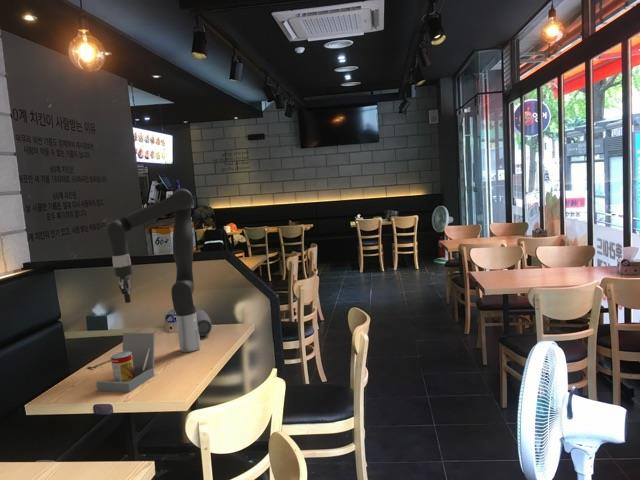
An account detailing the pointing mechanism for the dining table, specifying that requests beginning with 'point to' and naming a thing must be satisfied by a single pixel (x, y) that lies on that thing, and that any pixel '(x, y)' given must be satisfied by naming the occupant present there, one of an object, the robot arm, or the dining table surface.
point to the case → (135, 362)
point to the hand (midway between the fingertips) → (128, 302)
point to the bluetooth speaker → (203, 322)
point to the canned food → (123, 366)
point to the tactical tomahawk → (98, 364)
